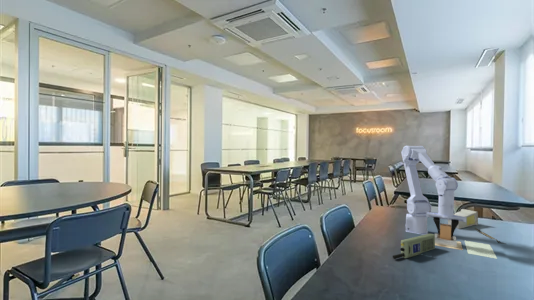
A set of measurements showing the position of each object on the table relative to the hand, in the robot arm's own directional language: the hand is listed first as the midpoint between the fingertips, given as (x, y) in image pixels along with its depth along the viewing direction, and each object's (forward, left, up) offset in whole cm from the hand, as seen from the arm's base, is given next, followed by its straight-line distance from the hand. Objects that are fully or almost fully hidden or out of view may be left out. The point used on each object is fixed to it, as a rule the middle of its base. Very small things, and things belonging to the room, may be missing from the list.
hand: (445, 235), depth 120 cm
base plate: (0, 0, -4) cm, 4 cm away
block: (+8, +41, -4) cm, 42 cm away
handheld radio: (-11, -21, -4) cm, 24 cm away
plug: (0, 0, -3) cm, 3 cm away
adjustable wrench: (+19, +26, -5) cm, 33 cm away
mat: (+12, 0, -4) cm, 13 cm away
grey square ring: (0, 0, -4) cm, 4 cm away
